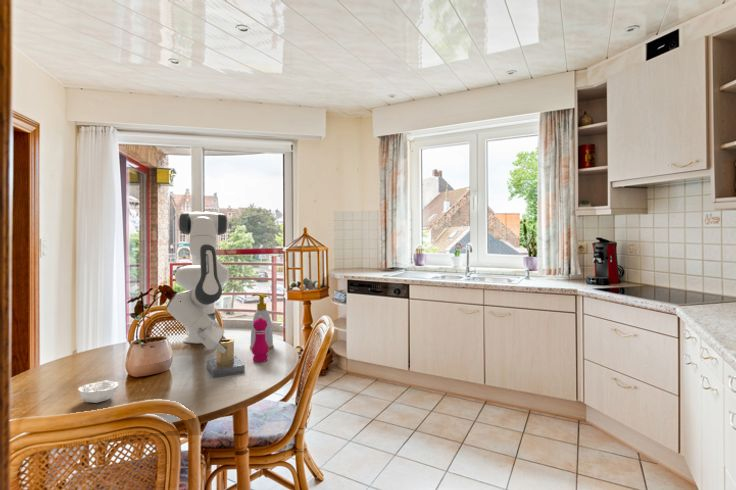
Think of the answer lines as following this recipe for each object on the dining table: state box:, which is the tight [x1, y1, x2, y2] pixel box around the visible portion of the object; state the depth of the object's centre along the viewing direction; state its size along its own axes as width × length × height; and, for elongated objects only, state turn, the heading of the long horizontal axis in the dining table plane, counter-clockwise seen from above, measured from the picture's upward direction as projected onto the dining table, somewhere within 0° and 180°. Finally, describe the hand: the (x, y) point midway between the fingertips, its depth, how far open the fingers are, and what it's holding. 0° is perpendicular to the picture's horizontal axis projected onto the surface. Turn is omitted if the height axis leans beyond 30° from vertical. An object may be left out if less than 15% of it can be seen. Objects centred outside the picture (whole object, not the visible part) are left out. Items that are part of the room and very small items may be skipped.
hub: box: [216, 338, 235, 365], centre depth 165 cm, size 6×6×9 cm
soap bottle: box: [249, 293, 274, 350], centre depth 196 cm, size 11×12×26 cm
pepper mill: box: [251, 315, 270, 363], centre depth 178 cm, size 7×7×20 cm
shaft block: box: [206, 355, 246, 379], centre depth 165 cm, size 14×12×9 cm
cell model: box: [77, 379, 120, 404], centre depth 135 cm, size 10×12×7 cm
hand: (226, 348), depth 165 cm, fingers open, 8 cm apart
